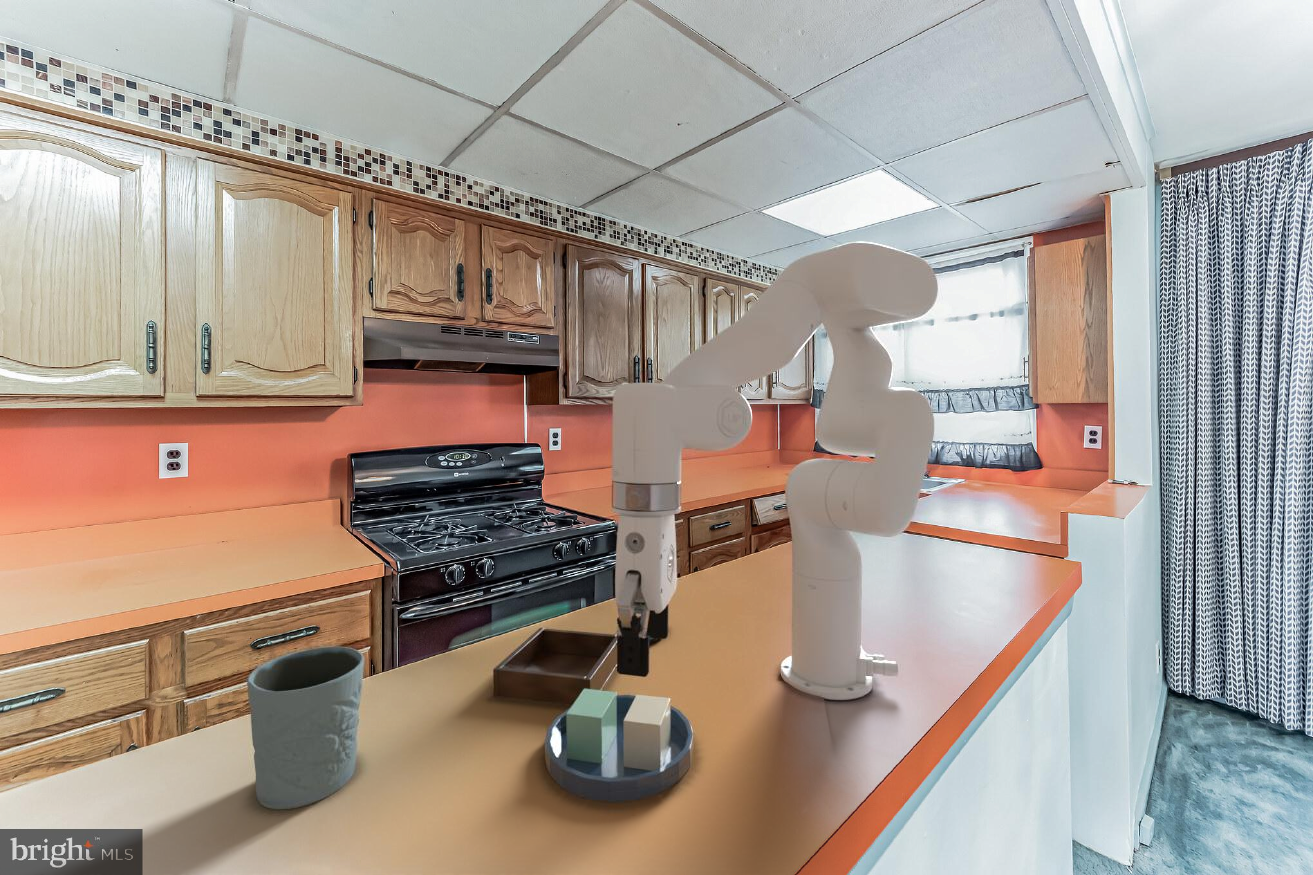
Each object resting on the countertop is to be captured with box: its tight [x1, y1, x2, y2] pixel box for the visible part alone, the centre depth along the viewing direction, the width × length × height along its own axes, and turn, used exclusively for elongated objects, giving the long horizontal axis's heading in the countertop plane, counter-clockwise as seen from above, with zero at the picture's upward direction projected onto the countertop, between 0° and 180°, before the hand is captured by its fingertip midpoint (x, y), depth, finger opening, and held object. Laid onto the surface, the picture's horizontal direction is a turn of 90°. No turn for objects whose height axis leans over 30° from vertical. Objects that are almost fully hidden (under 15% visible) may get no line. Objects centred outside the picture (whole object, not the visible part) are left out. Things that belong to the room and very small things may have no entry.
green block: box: [566, 689, 618, 764], centre depth 60 cm, size 4×6×5 cm
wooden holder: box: [492, 627, 617, 706], centre depth 77 cm, size 14×15×4 cm
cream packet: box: [623, 694, 671, 771], centre depth 59 cm, size 4×6×5 cm
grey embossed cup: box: [246, 645, 365, 811], centre depth 55 cm, size 10×10×12 cm
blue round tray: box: [544, 694, 695, 803], centre depth 60 cm, size 16×16×2 cm
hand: (644, 653), depth 58 cm, fingers open, 9 cm apart
